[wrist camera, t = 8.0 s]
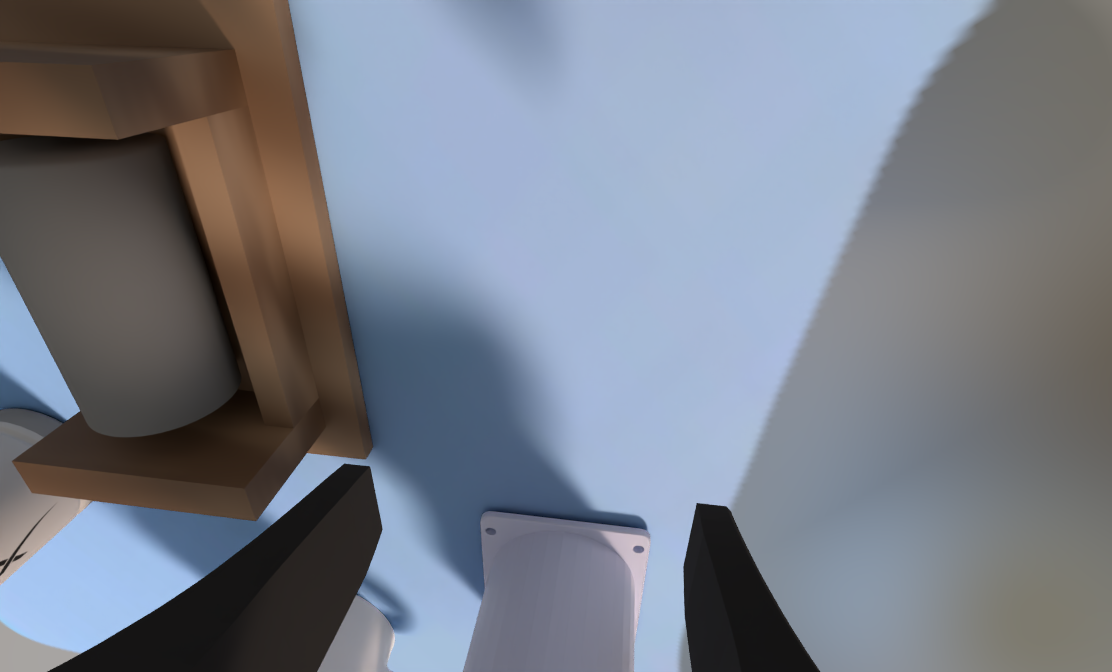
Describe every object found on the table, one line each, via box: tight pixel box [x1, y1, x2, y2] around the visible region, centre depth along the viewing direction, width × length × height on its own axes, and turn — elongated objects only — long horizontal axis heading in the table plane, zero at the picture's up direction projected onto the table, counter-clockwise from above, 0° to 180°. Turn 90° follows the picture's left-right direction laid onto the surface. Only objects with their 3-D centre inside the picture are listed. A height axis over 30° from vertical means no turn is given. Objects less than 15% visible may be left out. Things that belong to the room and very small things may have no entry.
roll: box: [0, 132, 241, 437], centre depth 19 cm, size 9×5×5 cm, turn 179°
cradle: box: [0, 0, 373, 521], centre depth 19 cm, size 18×12×6 cm, turn 179°
